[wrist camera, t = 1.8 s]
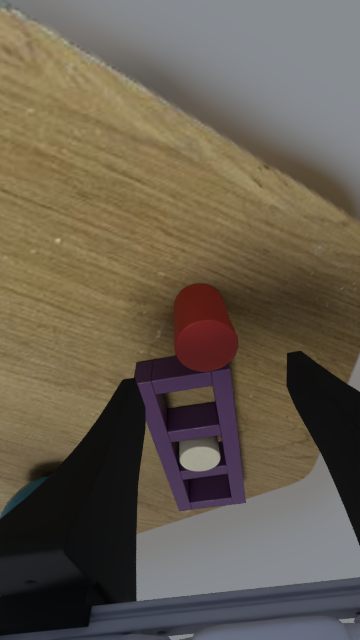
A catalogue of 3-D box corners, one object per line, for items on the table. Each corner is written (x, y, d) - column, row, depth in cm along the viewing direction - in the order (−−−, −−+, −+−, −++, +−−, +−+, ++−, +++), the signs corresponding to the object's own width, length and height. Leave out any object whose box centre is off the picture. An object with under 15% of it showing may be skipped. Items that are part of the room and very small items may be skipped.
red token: (233, 300, 19) (251, 340, 15) (203, 335, 21) (212, 380, 16) (193, 273, 18) (199, 308, 14) (164, 312, 20) (162, 354, 15)
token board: (224, 347, 21) (230, 368, 19) (240, 479, 31) (246, 503, 29) (136, 362, 22) (132, 384, 20) (178, 487, 31) (179, 511, 29)
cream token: (223, 426, 26) (229, 455, 24) (201, 446, 28) (204, 476, 25) (193, 413, 25) (195, 441, 22) (171, 434, 27) (171, 463, 24)
